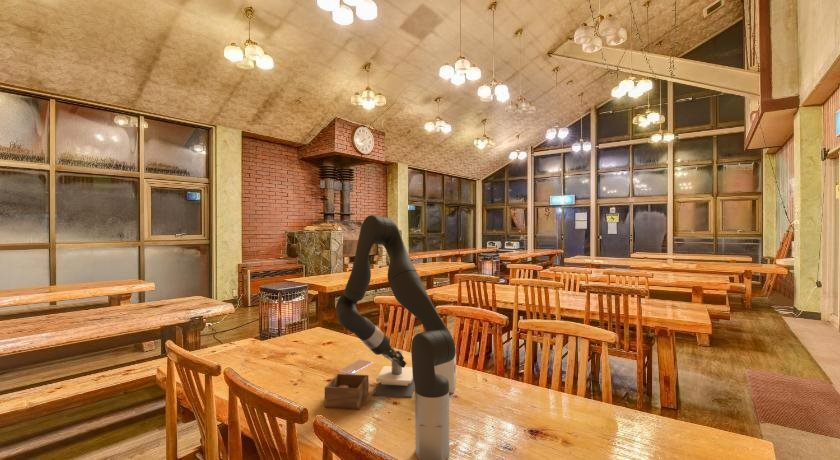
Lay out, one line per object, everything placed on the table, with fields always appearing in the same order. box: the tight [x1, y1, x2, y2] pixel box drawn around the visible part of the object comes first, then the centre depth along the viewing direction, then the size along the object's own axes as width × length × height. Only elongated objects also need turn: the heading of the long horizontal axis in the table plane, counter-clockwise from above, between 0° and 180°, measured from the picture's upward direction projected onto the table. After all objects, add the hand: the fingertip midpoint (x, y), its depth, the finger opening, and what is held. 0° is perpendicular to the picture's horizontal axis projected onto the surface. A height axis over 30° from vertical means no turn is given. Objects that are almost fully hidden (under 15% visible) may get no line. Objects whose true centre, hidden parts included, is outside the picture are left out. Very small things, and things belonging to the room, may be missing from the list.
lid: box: [375, 349, 413, 386], centre depth 146 cm, size 13×13×10 cm
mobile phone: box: [338, 359, 373, 374], centre depth 166 cm, size 8×1×15 cm
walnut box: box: [324, 373, 370, 411], centre depth 134 cm, size 12×12×7 cm
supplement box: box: [434, 345, 457, 394], centre depth 144 cm, size 9×9×15 cm
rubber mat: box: [372, 379, 415, 399], centre depth 146 cm, size 18×14×1 cm
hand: (400, 363), depth 147 cm, fingers closed on lid, 4 cm apart
